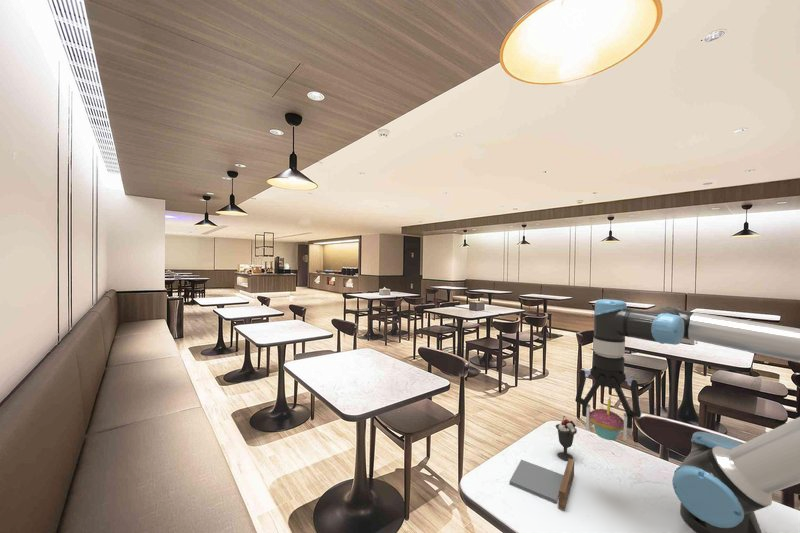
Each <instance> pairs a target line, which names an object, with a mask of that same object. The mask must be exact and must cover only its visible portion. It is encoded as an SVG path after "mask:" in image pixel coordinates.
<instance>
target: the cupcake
mask: <svg viewBox="0 0 800 533" xmlns="http://www.w3.org/2000/svg"><path fill="white" fill-rule="evenodd" d="M611 403H612V399H611V397H609V398H608V400H607V405H606V407H607V408H596V409H594V410H592V411H590V417H589V419H590V423H592V424H593V426H594V429H595V432H596V433H595V434H597V436H598V437H599V438H601V439H602V440H603V439H604V440H607V441H615V440H617V438H618V436H619V433H620V432H621V431H622V430H623V428H624V418H622V417H621V416H620V415H619V414H618V413H615V412H613V411H611Z"/></svg>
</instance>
